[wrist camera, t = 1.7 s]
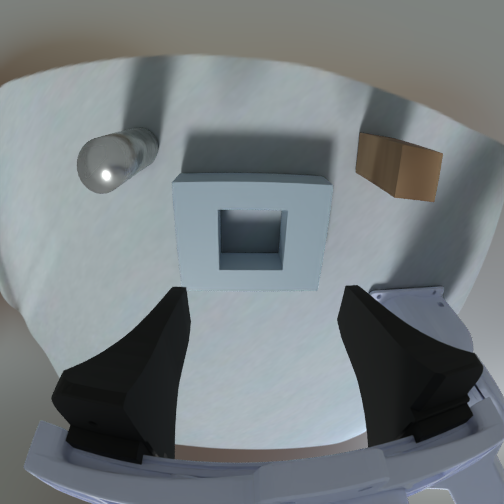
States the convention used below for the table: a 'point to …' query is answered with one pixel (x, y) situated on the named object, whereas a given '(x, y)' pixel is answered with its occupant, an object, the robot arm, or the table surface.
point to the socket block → (251, 198)
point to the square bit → (399, 167)
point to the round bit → (115, 158)
